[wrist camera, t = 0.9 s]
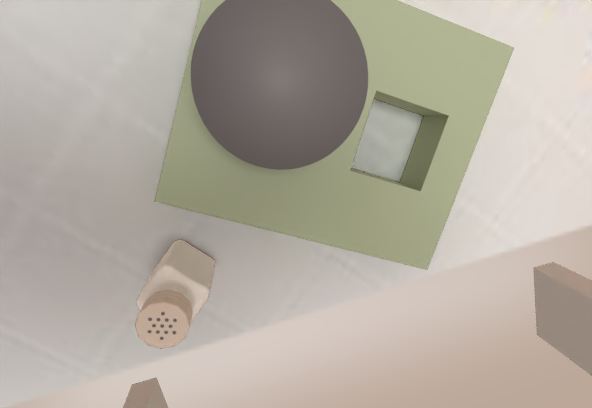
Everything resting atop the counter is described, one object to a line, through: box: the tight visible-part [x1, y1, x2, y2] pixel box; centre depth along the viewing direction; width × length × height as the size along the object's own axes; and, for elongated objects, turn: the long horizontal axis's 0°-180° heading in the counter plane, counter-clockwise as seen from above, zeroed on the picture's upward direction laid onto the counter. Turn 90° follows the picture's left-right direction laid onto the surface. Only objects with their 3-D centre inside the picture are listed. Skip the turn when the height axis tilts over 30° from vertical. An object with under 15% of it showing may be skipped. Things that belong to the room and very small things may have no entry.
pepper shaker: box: [135, 240, 215, 349], centre depth 27 cm, size 4×4×10 cm
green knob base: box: [155, 0, 514, 270], centre depth 26 cm, size 22×18×9 cm
